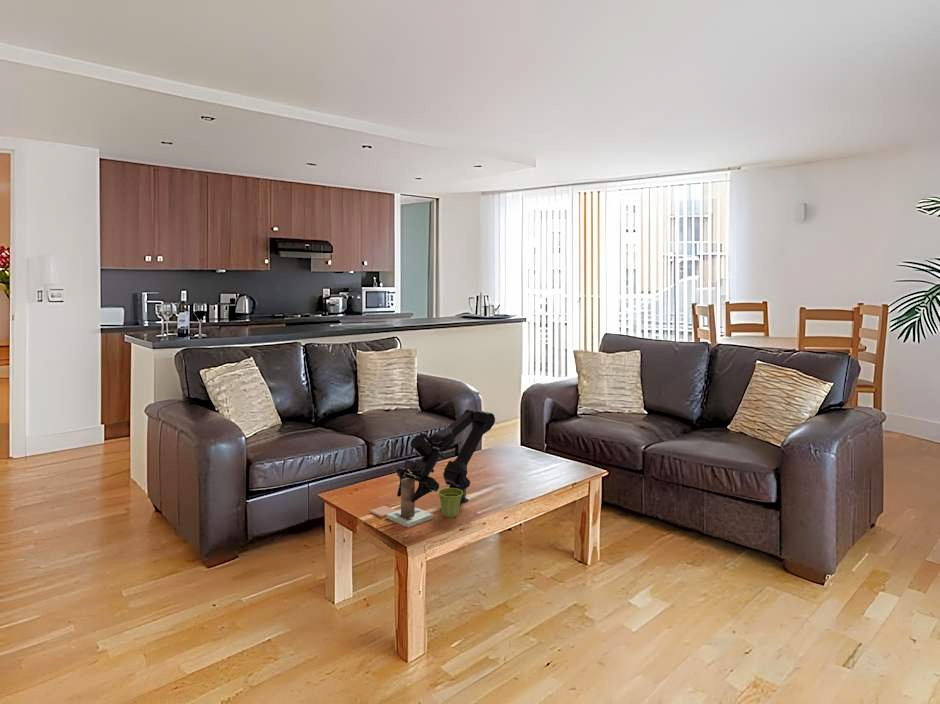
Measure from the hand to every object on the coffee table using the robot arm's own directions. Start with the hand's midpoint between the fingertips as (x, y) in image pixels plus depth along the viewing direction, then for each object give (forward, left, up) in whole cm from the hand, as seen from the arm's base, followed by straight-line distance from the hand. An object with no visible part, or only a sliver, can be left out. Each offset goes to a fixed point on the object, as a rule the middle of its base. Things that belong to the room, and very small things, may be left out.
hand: (404, 498), depth 230 cm
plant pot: (-15, +8, -8) cm, 19 cm away
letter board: (-2, 0, -8) cm, 8 cm away
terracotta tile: (+1, -11, -8) cm, 14 cm away
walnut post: (-1, 0, -6) cm, 7 cm away
